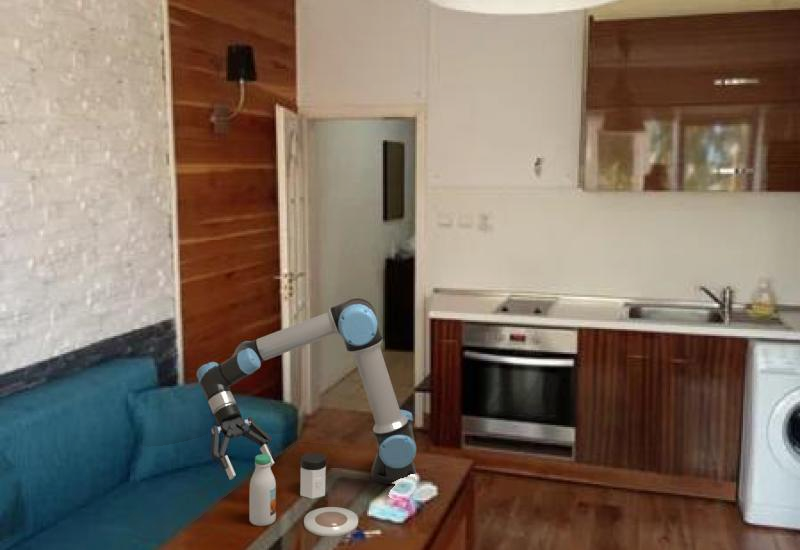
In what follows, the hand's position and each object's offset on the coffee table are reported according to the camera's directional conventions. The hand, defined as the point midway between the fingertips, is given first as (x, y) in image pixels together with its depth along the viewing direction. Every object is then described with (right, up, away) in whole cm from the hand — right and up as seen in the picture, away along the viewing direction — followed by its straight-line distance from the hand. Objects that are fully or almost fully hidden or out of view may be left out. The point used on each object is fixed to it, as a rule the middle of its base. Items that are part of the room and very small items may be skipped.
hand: (252, 471), depth 227 cm
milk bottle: (+3, -15, 0) cm, 15 cm away
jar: (+16, -12, +19) cm, 28 cm away
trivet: (+23, -15, 0) cm, 28 cm away
